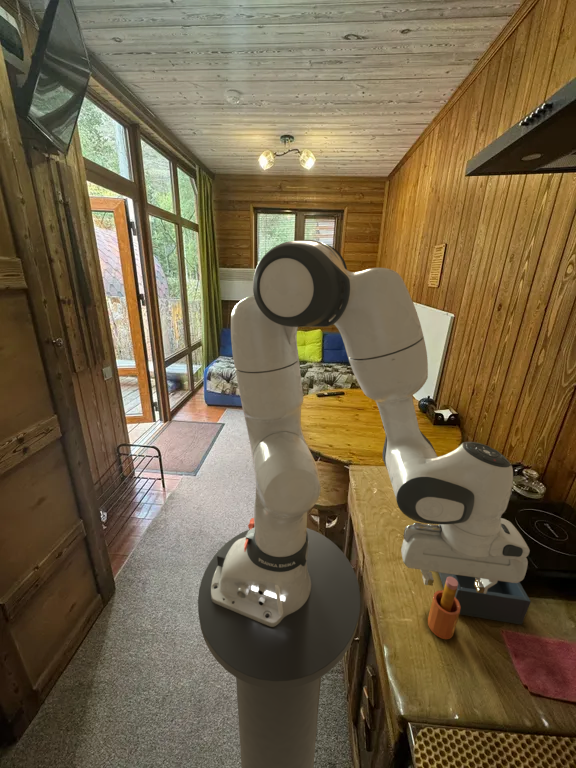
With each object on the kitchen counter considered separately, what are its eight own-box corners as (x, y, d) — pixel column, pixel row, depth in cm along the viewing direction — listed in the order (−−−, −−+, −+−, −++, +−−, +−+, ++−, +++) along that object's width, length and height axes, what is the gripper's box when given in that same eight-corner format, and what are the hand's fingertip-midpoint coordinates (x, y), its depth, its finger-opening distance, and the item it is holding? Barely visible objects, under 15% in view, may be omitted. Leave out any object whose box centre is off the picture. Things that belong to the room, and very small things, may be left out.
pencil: (437, 628, 62) (448, 585, 58) (434, 618, 64) (445, 575, 60) (447, 630, 61) (459, 587, 57) (444, 620, 63) (456, 577, 59)
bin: (451, 613, 65) (458, 590, 63) (433, 558, 78) (438, 537, 76) (521, 624, 63) (531, 601, 61) (491, 567, 76) (498, 545, 74)
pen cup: (431, 637, 61) (437, 612, 58) (424, 612, 65) (430, 588, 63) (457, 641, 60) (464, 617, 58) (448, 616, 65) (455, 592, 62)
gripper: (409, 535, 53) (399, 593, 58) (541, 552, 50) (519, 611, 54) (402, 509, 59) (394, 563, 63) (520, 523, 56) (502, 578, 60)
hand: (453, 585), depth 59 cm, fingers open, 8 cm apart
